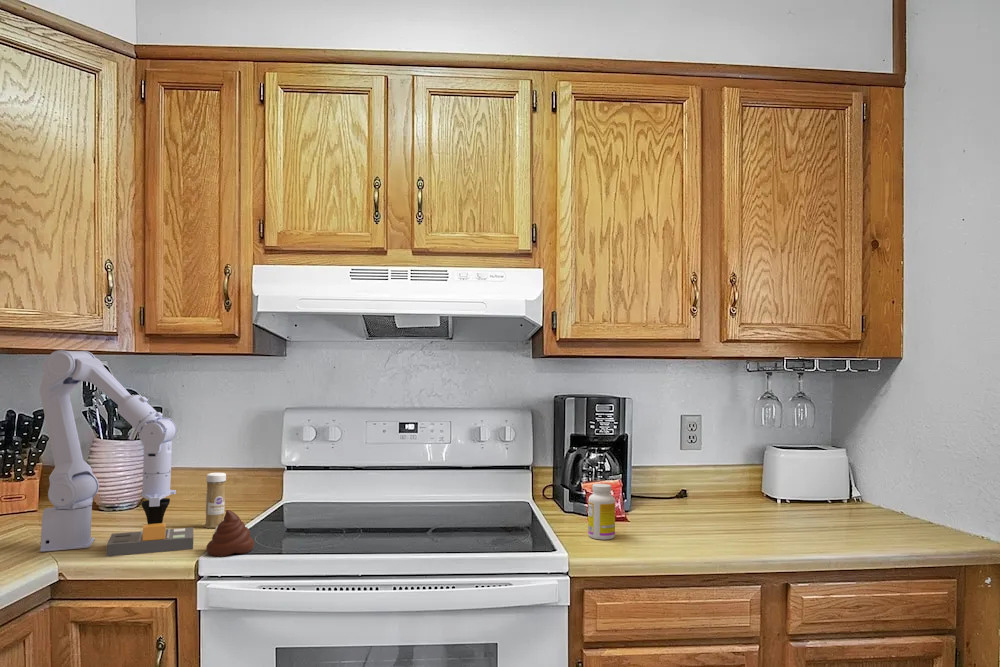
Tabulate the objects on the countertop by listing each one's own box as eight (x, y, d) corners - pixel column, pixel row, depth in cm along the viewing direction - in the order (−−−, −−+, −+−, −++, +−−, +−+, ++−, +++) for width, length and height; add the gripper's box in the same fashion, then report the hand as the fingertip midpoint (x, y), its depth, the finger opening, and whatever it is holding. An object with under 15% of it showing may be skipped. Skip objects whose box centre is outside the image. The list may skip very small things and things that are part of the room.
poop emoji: (211, 560, 146) (212, 515, 147) (201, 550, 153) (203, 508, 153) (258, 553, 152) (260, 510, 152) (247, 544, 159) (249, 503, 159)
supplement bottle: (619, 536, 172) (619, 484, 172) (607, 542, 166) (608, 488, 167) (595, 532, 175) (595, 481, 176) (583, 537, 170) (583, 485, 170)
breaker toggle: (142, 540, 150) (143, 527, 150) (143, 537, 153) (143, 524, 153) (164, 539, 152) (165, 525, 152) (165, 535, 155) (165, 522, 155)
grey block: (106, 556, 147) (106, 543, 147) (111, 544, 156) (111, 532, 156) (193, 548, 154) (193, 536, 154) (193, 538, 163) (193, 526, 163)
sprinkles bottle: (212, 529, 171) (214, 475, 172) (201, 527, 173) (202, 473, 174) (228, 526, 175) (230, 473, 176) (216, 523, 177) (218, 471, 178)
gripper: (175, 476, 151) (173, 538, 150) (177, 466, 164) (175, 523, 163) (139, 478, 148) (137, 541, 147) (144, 467, 161) (142, 526, 160)
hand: (154, 532), depth 155 cm, fingers closed
